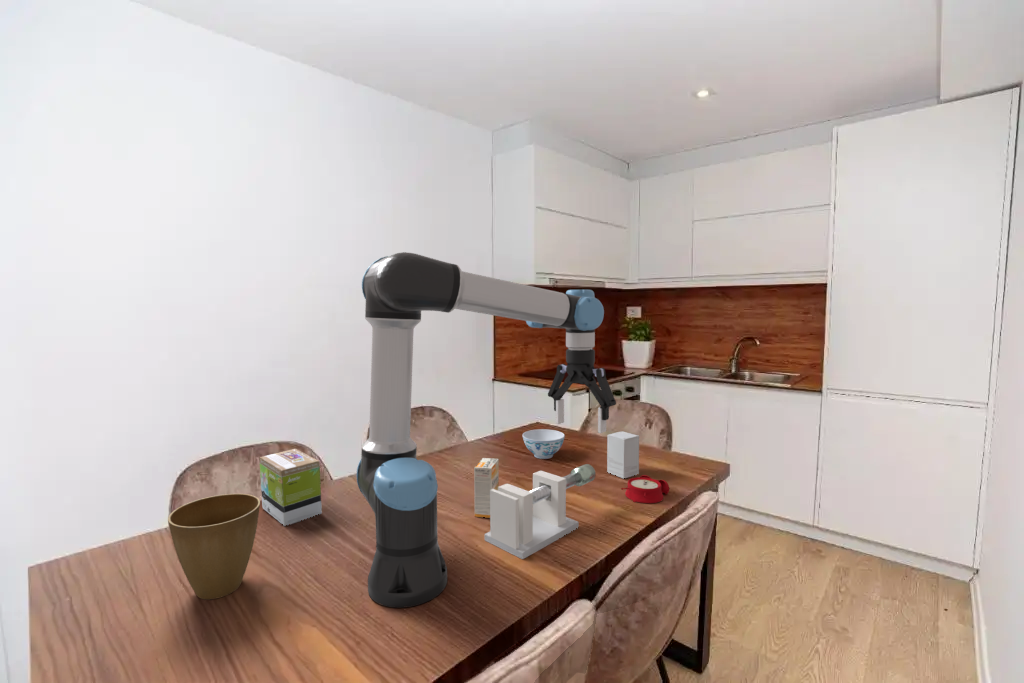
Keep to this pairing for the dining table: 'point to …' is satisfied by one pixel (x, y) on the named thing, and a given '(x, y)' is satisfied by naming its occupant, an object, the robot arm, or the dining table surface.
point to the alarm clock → (646, 489)
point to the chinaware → (543, 442)
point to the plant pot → (215, 541)
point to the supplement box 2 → (623, 454)
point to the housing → (528, 516)
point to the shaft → (567, 482)
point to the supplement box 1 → (485, 485)
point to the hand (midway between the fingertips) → (580, 427)
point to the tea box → (290, 486)
